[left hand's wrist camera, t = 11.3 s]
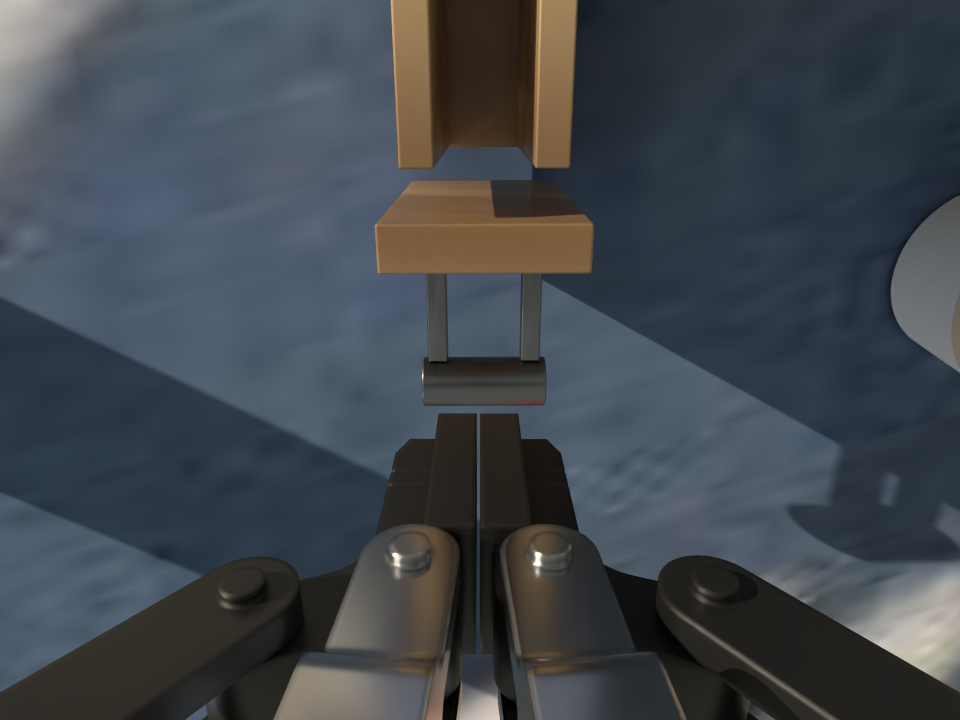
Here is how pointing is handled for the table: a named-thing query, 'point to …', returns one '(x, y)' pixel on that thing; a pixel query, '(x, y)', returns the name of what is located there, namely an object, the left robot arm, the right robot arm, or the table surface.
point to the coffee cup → (931, 284)
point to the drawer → (491, 203)
